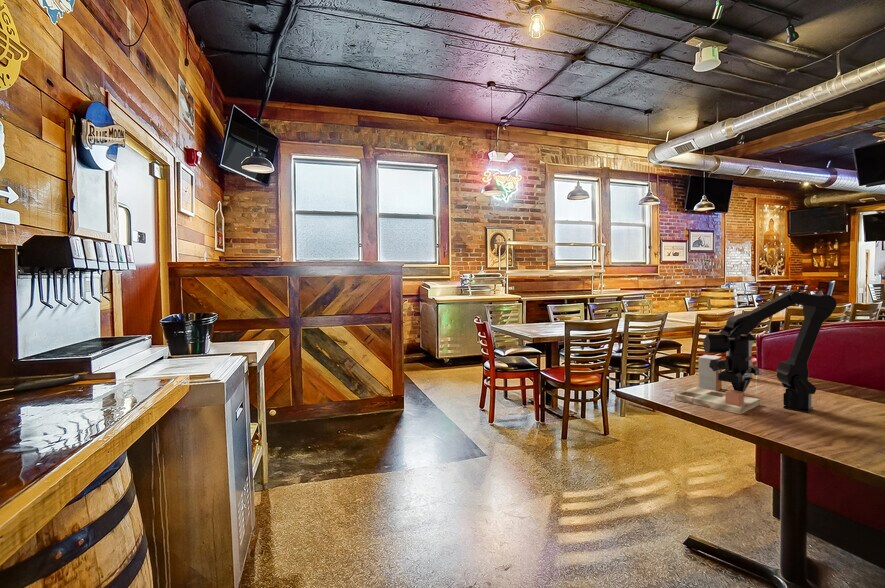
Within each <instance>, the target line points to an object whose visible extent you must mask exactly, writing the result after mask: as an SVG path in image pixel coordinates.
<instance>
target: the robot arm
mask: <svg viewBox="0 0 885 588" xmlns="http://www.w3.org/2000/svg"><path fill="white" fill-rule="evenodd" d="M793 305H798V306H802V314H803V321H802V324H801V327H800V329H799V332H798V334H797V336H796V337H797V338H796V339H795V343H794V345H793V347H792V350H791V353H790V355H789V358H788V359H786V360H785V361H782V360H780V361H779V362H778V366H777V369H776V370H775V372H776V378H777V379H778V381H779V383H781V384H782V386H783V388H786V389H785V391H784V392H783V395H782V396H783V397H782V398H783V400H782V401H783V408H784V409H787V410H791V411H792V410H793V411H798V412H803V413H809V412H811V411H812V410H813V409H814V407H813V406H812V401H813V400H812V395H815V393H816V392H817V387H816V386H815V385H814V384H813V383H812V382H811V381H809V375H810V372H809V367H808V362H809V359H810V357H811V354H812V352H813V350H814V346H815V344H816V342H817V338H818V335H819V333H820V331H821V329H822V325H823V323H824V322H825V321H826V320H828V318H830V317H831V316H832V314H833V313H834V311H835V309H836V308H837V306H838V302H837V300H836V299H835V297H834V296H833V295H830V294H821V293H820V294H819V293H811V294H810V293H803V292H799V291H796V290H786V291H784V292H783V293H781V295H778V296H776V297H774V298H772V299H771V300H769V301H766V302H765V303H763V304H762V305H760V306H757V307H756V308H754V309H752V310H750V311H746V312H742V313H738V314H736V315H733V316H730V317H728V318H727V320H726V325H724V326H723V328H722V329H721V330H720V332H718V333H708V332H707V333H705V337H704V340H703V342H702V346H703V351H704V352H705V354H727V351H729V355H728V356H725V359H722V360H719V361H718V360H717V359H714V360H710V363H709V364H710V365H709V367H710V368H712V370H713V371H717V370H721V369H722V372H720V373H719V374H718V380H720V381H722V382H725V383H731V385H732V388H733V390H736V391H742V392H744V393H745V392H746V390H747V388H748V387H749V385H750V383H751V382H752V380H753V377H752V378H750V377H748V375H746V374H747V373H752V375H754V376H759V375H760V368H759V367H758V366H757V365H753V366H751V365H749V360H752V358H751V357H752V356H749V341H755V342H756V341H757V338H756V337H755V336H754V335H752V333H751V334H750V332H752V331H754V330H755V329H756V328H757V327H759V326H758V325H760V324H761V322H763V321H765V320H767V319H769V318H770V317H772V316H774V315H776V314H778V313H779V312H782V311H784V310H785V309H787V308H789V307H791V306H793ZM753 336H754V337H753Z"/></svg>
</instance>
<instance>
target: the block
mask: <svg viewBox="0 0 885 588" xmlns="http://www.w3.org/2000/svg"><path fill="white" fill-rule="evenodd" d="M724 393H725V403H727V404H732V405H737V406H740V405H742V404H744V396H745V395H744V394H745V392H742V391H736V390H734V389H728V390H726V391H725V392H724Z"/></svg>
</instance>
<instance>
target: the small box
mask: <svg viewBox="0 0 885 588" xmlns="http://www.w3.org/2000/svg"><path fill="white" fill-rule="evenodd" d="M722 358H723V356H719V355H711V354H703V355H700V356H699V357H698V388H703V389H708V390H714V391H720V390H722V387H723V386H722V383H723V381H720V380H718V374H719V373H720V372H722V371H723V369H721V370H717V371H713V370H712V368H710V367H709V365H710V364H709V363H710V360H714V359H717V360H718V361H719V360H723V359H722Z"/></svg>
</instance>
